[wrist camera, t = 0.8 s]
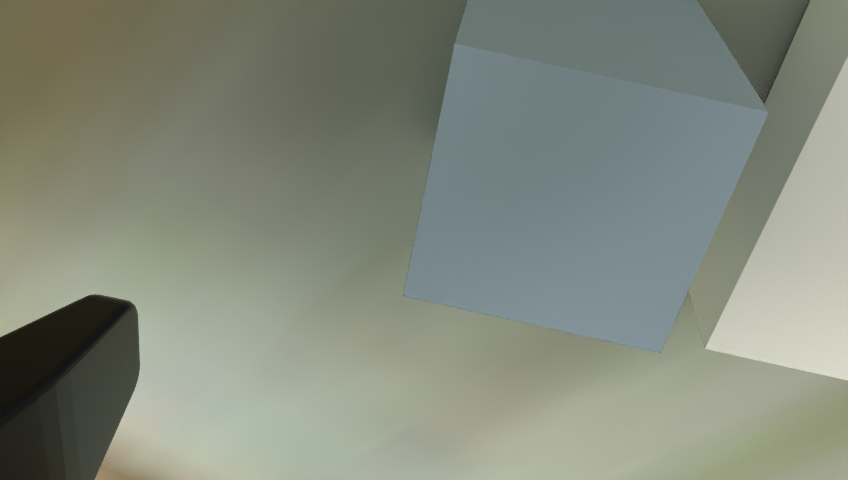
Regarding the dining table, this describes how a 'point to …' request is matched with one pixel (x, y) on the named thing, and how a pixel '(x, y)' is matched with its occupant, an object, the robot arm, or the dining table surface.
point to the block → (582, 164)
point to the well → (789, 217)
